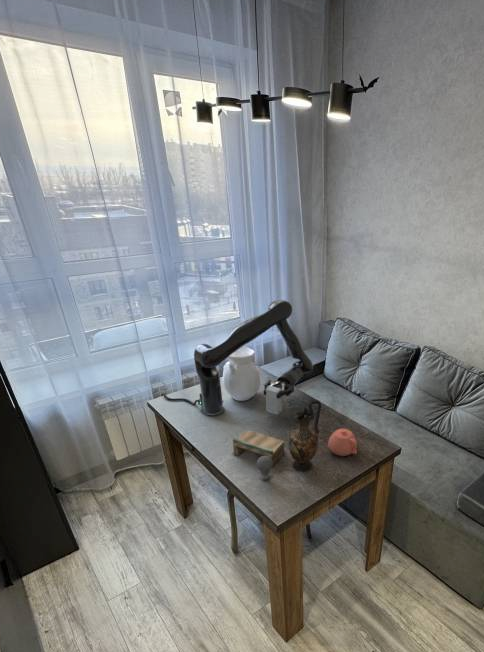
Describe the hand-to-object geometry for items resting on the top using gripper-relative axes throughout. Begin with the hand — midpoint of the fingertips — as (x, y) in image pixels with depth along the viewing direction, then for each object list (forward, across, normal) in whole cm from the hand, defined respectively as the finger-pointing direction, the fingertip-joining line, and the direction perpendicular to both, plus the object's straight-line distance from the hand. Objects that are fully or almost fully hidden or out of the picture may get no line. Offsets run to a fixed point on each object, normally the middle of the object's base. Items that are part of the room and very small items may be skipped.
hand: (270, 394), depth 180 cm
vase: (+23, +28, +14) cm, 39 cm away
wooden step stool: (+24, +8, +13) cm, 29 cm away
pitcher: (-13, -24, +14) cm, 30 cm away
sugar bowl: (+7, +39, +13) cm, 42 cm away
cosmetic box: (-2, 0, +10) cm, 10 cm away
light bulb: (+36, +18, +14) cm, 43 cm away
